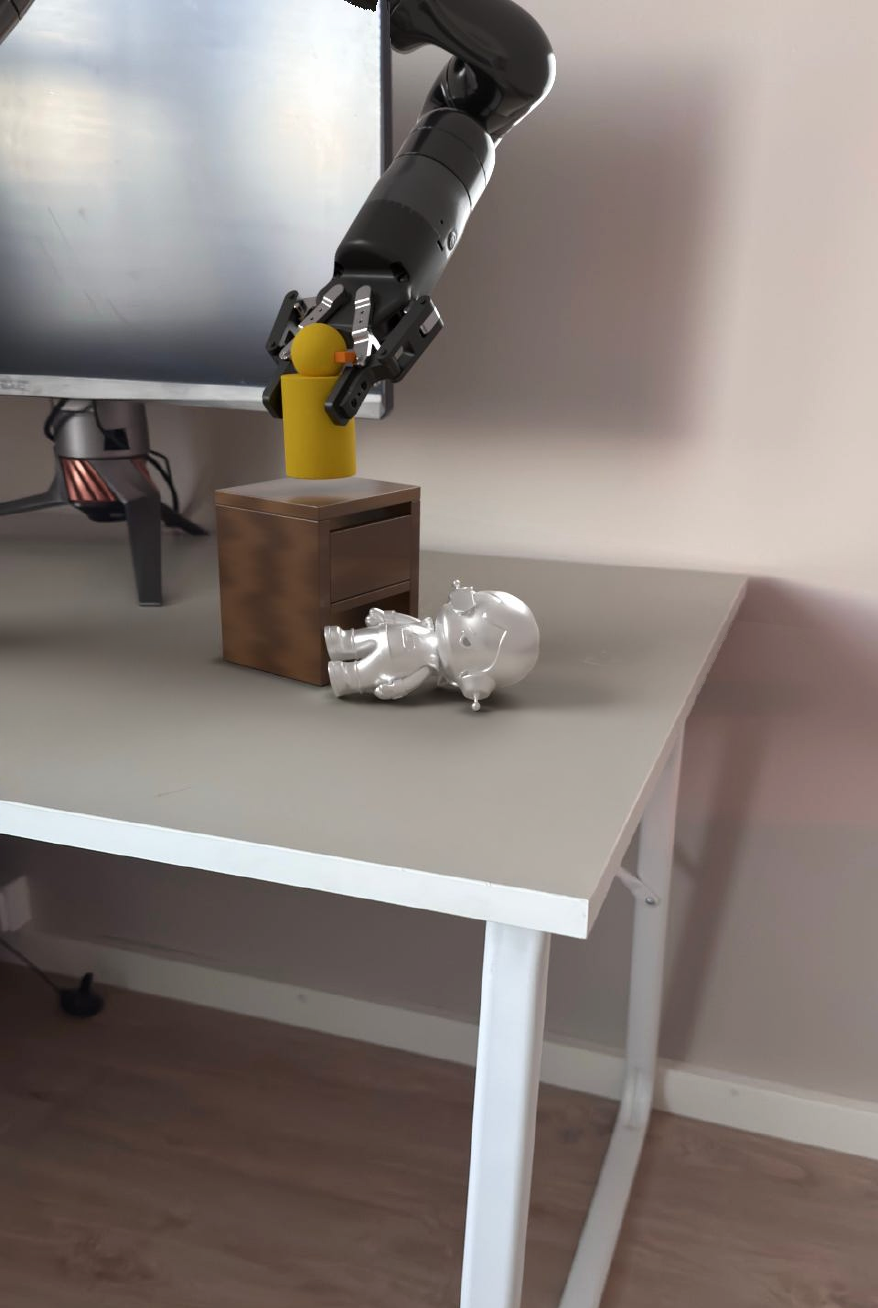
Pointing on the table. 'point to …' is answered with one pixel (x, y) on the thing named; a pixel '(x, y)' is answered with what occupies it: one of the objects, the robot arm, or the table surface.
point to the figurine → (438, 647)
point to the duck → (316, 407)
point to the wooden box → (311, 566)
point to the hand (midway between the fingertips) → (302, 414)
